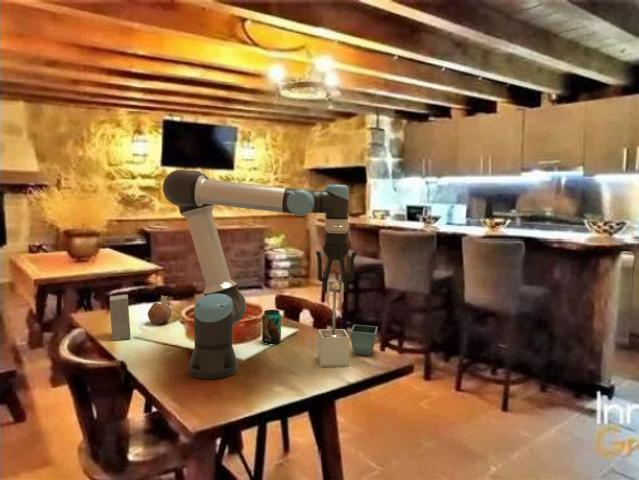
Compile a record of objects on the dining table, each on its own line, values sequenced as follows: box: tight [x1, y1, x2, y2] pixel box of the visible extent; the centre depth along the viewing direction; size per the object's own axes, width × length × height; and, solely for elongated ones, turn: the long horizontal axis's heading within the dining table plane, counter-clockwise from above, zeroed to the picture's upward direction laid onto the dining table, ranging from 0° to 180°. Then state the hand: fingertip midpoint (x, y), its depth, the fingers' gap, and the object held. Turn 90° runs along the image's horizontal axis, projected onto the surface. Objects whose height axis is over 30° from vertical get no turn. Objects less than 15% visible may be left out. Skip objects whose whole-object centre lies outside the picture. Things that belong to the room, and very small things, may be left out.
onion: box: [147, 302, 172, 326], centre depth 201 cm, size 10×9×10 cm
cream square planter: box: [316, 328, 351, 368], centre depth 161 cm, size 9×9×10 cm
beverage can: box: [261, 309, 282, 345], centre depth 180 cm, size 7×7×12 cm
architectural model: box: [160, 295, 175, 307], centre depth 222 cm, size 3×7×7 cm, turn 41°
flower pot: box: [350, 324, 379, 356], centre depth 171 cm, size 9×9×9 cm
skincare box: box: [109, 294, 131, 341], centre depth 181 cm, size 8×7×16 cm
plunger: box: [324, 280, 343, 337], centre depth 159 cm, size 7×7×18 cm
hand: (334, 301), depth 159 cm, fingers closed on plunger, 4 cm apart
